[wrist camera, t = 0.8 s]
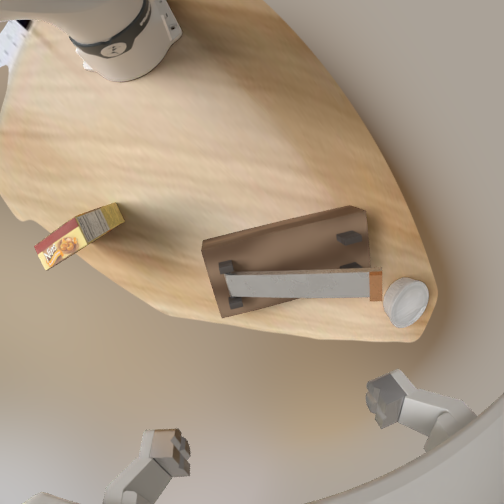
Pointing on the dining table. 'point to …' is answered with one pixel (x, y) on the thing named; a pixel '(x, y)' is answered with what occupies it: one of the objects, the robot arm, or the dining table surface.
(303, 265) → the base
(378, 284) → the clamp bar
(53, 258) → the candy box
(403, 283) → the ramekin
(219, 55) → the dining table surface
